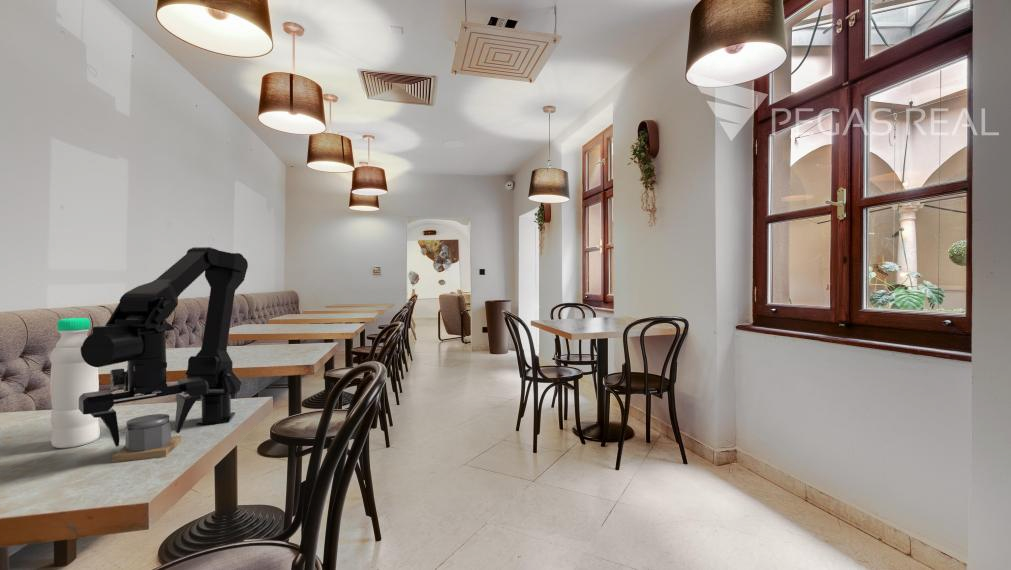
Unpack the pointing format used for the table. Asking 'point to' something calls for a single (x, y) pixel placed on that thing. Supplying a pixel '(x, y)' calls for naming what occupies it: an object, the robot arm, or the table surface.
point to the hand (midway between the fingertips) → (148, 439)
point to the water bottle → (72, 387)
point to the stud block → (146, 452)
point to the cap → (147, 432)
